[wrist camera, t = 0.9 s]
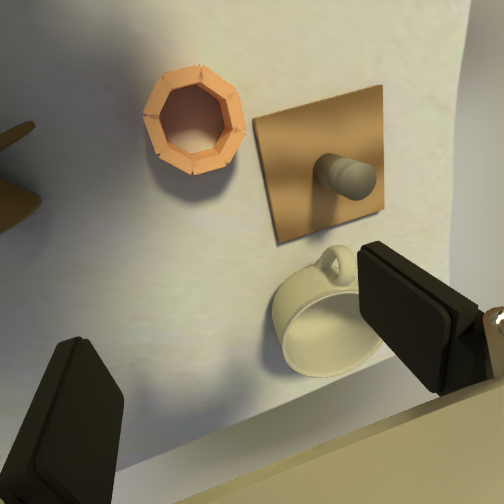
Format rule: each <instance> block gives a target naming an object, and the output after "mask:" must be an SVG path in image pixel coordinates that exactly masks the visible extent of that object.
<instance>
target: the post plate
mask: <svg viewBox="0 0 504 504" xmlns="http://www.w3.org/2000/svg"><path fill="white" fill-rule="evenodd" d="M253 123H254V128H255V133H256V138H257V143H258V148H259V153H260V157H261V162H262V167H263V172H264V177H265V182H266V187H267V192H268V197H269V202H270V207H271V212H272V216H273V221H274V226H275V231H276V236H277V240H278V241H279V243H281V242H284V241H287V240H290V239H293V238H296V237H300V236H303V235H306V234H309V233H312V232H315V231H318V230H321V229H324V228H327V227H331V226H334V225H337V224H340V223H343V222H346V221H349V220H352V219H355V218H358V217H362V216H365V215H368V214H371V213H374V212H377V211H380V210H383V209H384V146H383V85H376V86H372V87H368V88H365V89H361V90H357V91H353V92H350V93H346V94H342V95H339V96H335V97H331V98H327V99H324V100H320V101H316V102H312V103H309V104H305V105H301V106H298V107H294V108H290V109H286V110H283V111H279V112H275V113H271V114H268V115H264V116H260V117H257V118H253Z"/></svg>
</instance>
